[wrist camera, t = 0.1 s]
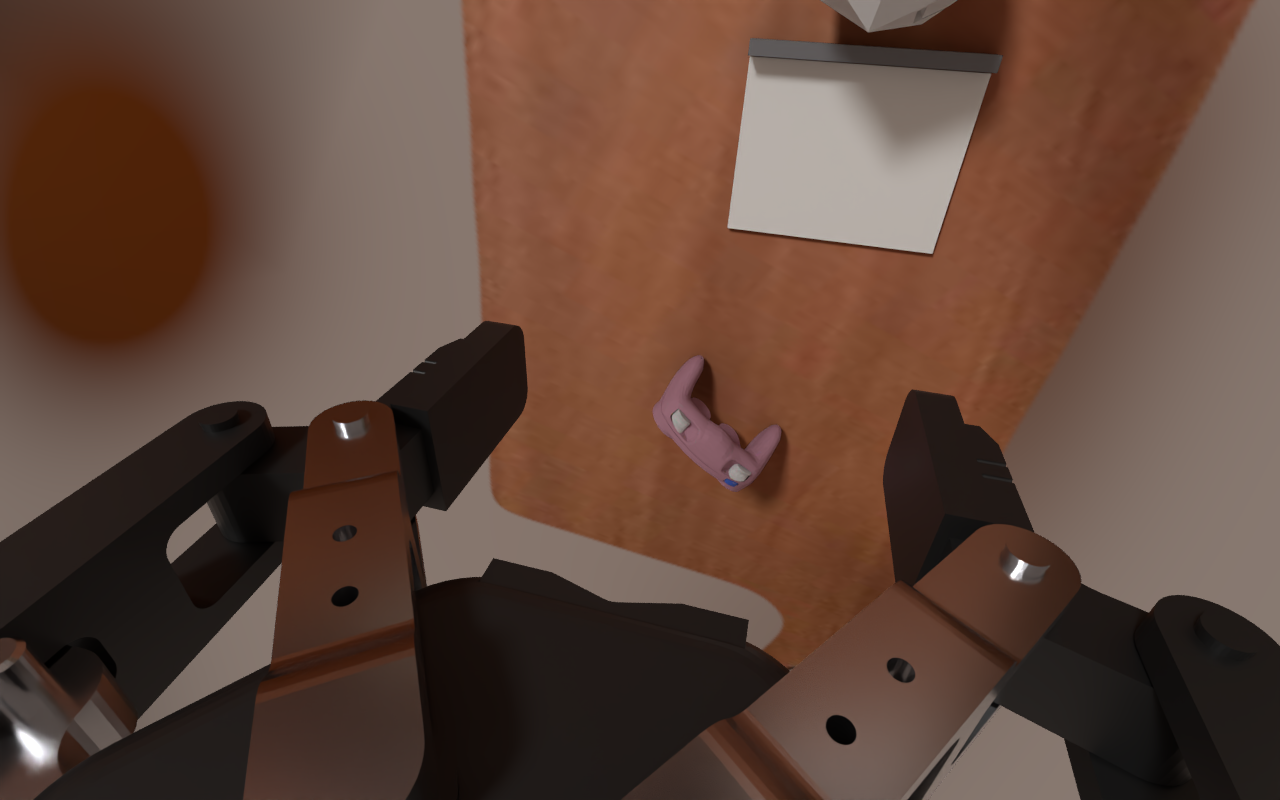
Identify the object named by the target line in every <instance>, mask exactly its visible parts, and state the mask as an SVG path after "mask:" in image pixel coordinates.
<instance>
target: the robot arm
mask: <svg viewBox="0 0 1280 800" xmlns="http://www.w3.org/2000/svg"><path fill="white" fill-rule="evenodd" d="M527 391H528V387H527V373H526V359H525V346H524V335H523V331H522V329H521V328H520V327H519V326H516V325H510V324H504V323H498V322H491V321H484V322H483V323H481V324H480V325H479V326H478V327H477V328H476V329H475V330H474V331H472V332H471V333H470V334H469V335H468V336H467V337H466V338H464V339H458V340H456V341H454V342H451V343H449V344H447V345H444V346H442V347H440V348H438V349H437V350H436V351H435V352H433V353H432V354H431V355H430V356H429V357H428V358H426V359H425V362H422V363H421V364H419V365H418V366H417V367H416V368H415V369H414V370H413V372H410V373H409V374H407V375H406V376H405V377H404V378H403V379H402V380H400V381H399V382H398V383H397V384H396V385H395V386H394V387H392V388H391V389H390V390H389V391H387V392H386V393H385V394H384V395H383V396H381V397H380V398H379V399H378V400H377V401H366V400H363V401H351V402H346V403H343V404H339V405H336V406H333V407H331V408H329V409H327V410H325V411H323V412H322V413H320V414H319V415H317V416H316V417H315V418H314V419H313V420H312V421H311V423H310V425H309V426H296V427H295V426H294V427H272V426H271V424H270V421H269V418H268V416H267V413H266V410H265V409H264V407H262V406H261V405H259V404H256V403H253V402H246V401H236V402H227V403H221V404H217V405H213V406H210V407H207V408H204V409H202V410H199V411H197V412H195V413H193V414H191V415H189V416H188V417H186V418H185V419H183V420H182V421H180V422H179V423H177V424H176V425H174V426H173V427H171V428H170V429H168V430H167V431H165V432H164V433H162V434H161V435H159V436H158V437H156V438H155V439H153V440H152V441H150V442H149V443H147V444H146V445H144V446H143V447H141V448H140V449H139V450H137V451H135V452H134V453H132V454H131V455H129V456H128V457H126V458H125V459H123V460H122V461H121V462H119V463H118V464H116V465H115V466H113V467H111V468H110V469H109V470H107V471H106V472H104V473H103V474H101V475H100V476H98V477H97V478H95V479H94V480H92V481H91V482H89V483H88V484H86V485H85V486H83V487H82V488H80V489H79V490H77V491H76V492H74V493H73V494H71V495H70V496H68V497H67V498H65V499H64V500H62V501H61V502H59V503H58V504H56V505H55V506H53V507H52V508H51V509H49V510H47V511H46V512H44V513H43V514H41V515H40V516H38V517H37V518H36V519H34V520H33V521H31V522H29V523H28V524H27V525H25V526H23V527H22V528H20V529H19V530H18V531H16V532H15V533H13V534H12V535H10V536H9V537H7V538H6V539H4V540H3V541H1V542H0V800H929V798H930V797H931V796H932V794H933V793H934V791H935V790H936V789H937V787H938V786H939V784H940V783H941V782H942V781H943V779H944V778H945V777H946V775H947V774H948V773H949V772H950V770H951V769H952V768H953V767H954V765H955V764H956V763H957V762H958V760H959V759H960V758H961V756H962V755H963V754H964V753H965V751H966V750H967V749H968V748H969V746H970V745H971V744H972V743H973V741H974V740H975V739H976V738H977V736H978V735H979V734H980V733H981V731H982V730H983V729H984V728H985V726H986V725H987V724H988V723H989V721H990V720H991V719H992V717H993V716H994V715H995V714H996V712H997V711H998V710H999V709H1000V707H1001V706H1003V707H1005V708H1007V709H1009V710H1011V711H1013V712H1015V713H1016V714H1018V715H1020V716H1022V717H1024V718H1026V719H1028V720H1030V721H1032V722H1034V723H1036V724H1038V725H1039V726H1042V727H1043V728H1045V729H1047V730H1049V731H1051V732H1053V733H1055V734H1057V735H1059V736H1060V737H1062V738H1064V740H1065V744H1066V747H1067V751H1068V755H1069V758H1070V762H1071V766H1072V770H1073V773H1074V777H1075V780H1076V784H1077V788H1078V792H1079V795H1080V799H1081V800H1280V646H1279V645H1278V644H1277V643H1276V642H1275V641H1274V640H1273V639H1272V638H1271V637H1270V636H1268V635H1267V634H1266V633H1265V632H1264V631H1263V630H1261V629H1260V628H1259V627H1257V626H1256V625H1255V624H1253V623H1252V622H1250V621H1248V620H1247V619H1245V618H1244V617H1242V616H1240V615H1238V614H1237V613H1235V612H1233V611H1231V610H1229V609H1227V608H1225V607H1223V606H1220V605H1218V604H1215V603H1213V602H1210V601H1207V600H1203V599H1200V598H1197V597H1191V596H1185V595H1172V596H1167V597H1164V598H1162V599H1160V600H1159V601H1158V602H1157V603H1156V605H1155V606H1154V607H1153V608H1152V610H1151V611H1150V612H1149V613H1148V612H1146V611H1143V610H1141V609H1138V608H1136V607H1133V606H1131V605H1129V604H1126V603H1124V602H1121V601H1119V600H1117V599H1114V598H1112V597H1109V596H1107V595H1105V594H1102V593H1100V592H1098V591H1096V590H1093V589H1091V588H1089V587H1087V586H1085V585H1084V584H1082V583H1081V575H1080V573H1079V570H1078V568H1077V567H1076V565H1075V563H1074V562H1073V561H1072V560H1071V558H1070V557H1069V556H1068V555H1067V554H1066V553H1065V552H1064V551H1063V550H1062V549H1060V548H1059V547H1058V546H1057V545H1055V544H1054V543H1052V542H1051V541H1049V540H1048V539H1046V538H1044V537H1042V536H1040V535H1038V534H1036V533H1034V530H1033V528H1032V525H1031V523H1030V520H1029V518H1028V516H1027V513H1026V511H1025V508H1024V506H1023V503H1022V501H1021V499H1020V496H1019V494H1018V491H1017V489H1016V486H1015V484H1014V483H1012V476H1011V474H1010V472H1009V469H1008V468H1007V467H1006V462H1005V459H1004V457H1003V454H1002V452H1001V450H1000V447H999V445H998V444H997V443H996V442H995V441H994V440H993V439H992V438H991V437H990V436H989V435H988V434H987V433H986V432H985V431H984V430H983V429H982V428H981V427H980V426H974V425H968V424H964V421H963V418H962V415H961V412H960V410H959V407H958V404H957V401H956V399H955V397H954V396H950V395H944V394H938V393H931V392H925V391H919V390H911V391H910V392H909V394H908V395H907V398H906V400H905V403H904V406H903V409H902V412H901V415H900V418H899V421H898V424H897V427H896V430H895V433H894V436H893V438H892V441H891V444H890V447H889V450H888V453H887V457H886V461H885V466H884V474H883V487H884V495H885V503H886V510H887V518H888V526H889V534H890V542H891V550H892V558H893V566H894V574H895V582H896V583H894V584H893V585H892V586H890V587H889V588H888V589H887V590H886V591H884V592H883V593H882V594H881V595H880V596H879V597H877V598H876V599H875V600H874V601H873V602H872V603H870V604H869V605H868V606H867V607H866V608H864V609H863V610H862V611H861V612H860V613H859V614H857V615H856V616H855V617H854V618H853V619H851V620H850V621H849V622H848V623H847V624H846V625H844V626H843V627H842V628H841V629H840V630H838V631H837V632H836V633H835V634H834V635H833V636H831V637H830V638H829V639H828V640H827V641H825V642H824V643H823V644H822V645H821V646H820V647H818V648H817V649H816V650H815V651H814V652H813V653H811V654H810V655H809V656H808V657H807V658H805V659H804V660H803V661H802V662H801V663H800V664H798V665H797V666H796V667H795V668H794V669H792V670H791V671H789V670H788V669H787V668H786V667H785V666H783V665H782V664H781V663H780V662H778V661H777V660H776V659H775V658H773V657H772V656H770V655H769V654H767V653H766V652H764V651H763V650H761V649H759V648H758V647H756V646H754V645H752V644H750V643H748V642H746V637H747V629H748V621H749V620H746V619H742V618H738V617H734V616H730V615H726V614H722V613H718V612H714V611H709V610H705V609H701V608H697V607H692V606H689V605H685V604H667V603H623V602H622V603H621V602H619V603H618V602H611V601H607V600H605V599H603V598H601V597H599V596H597V595H595V594H593V593H591V592H589V591H587V590H585V589H583V588H581V587H580V586H578V585H576V584H574V583H572V582H570V581H568V580H566V579H564V578H562V577H560V576H558V575H556V574H554V573H552V572H548V571H544V570H539V569H535V568H531V567H527V566H523V565H519V564H515V563H510V562H507V561H503V560H498V559H494V558H493V560H492V561H491V563H490V565H489V566H488V568H487V570H486V571H485V573H484V574H483V576H482V577H472V578H471V577H470V578H460V579H454V580H449V581H444V582H440V583H437V584H433V585H430V586H427V584H426V576H425V569H424V562H423V555H422V548H421V541H420V534H419V528H418V522H417V518H416V514H417V512H418V511H419V510H420V509H421V507H422V506H426V507H430V508H434V509H439V510H443V511H447V509H448V508H449V507H450V505H451V504H452V503H453V502H454V500H455V499H456V498H457V496H458V495H459V494H460V493H461V491H462V490H463V489H464V487H465V486H466V485H467V484H468V482H469V481H470V480H471V478H472V477H473V476H474V474H475V473H476V472H477V470H478V469H479V468H480V467H481V465H482V464H483V463H484V461H485V460H486V459H487V458H488V456H489V455H490V454H491V453H492V451H493V450H494V449H495V447H496V446H497V445H498V443H499V442H500V441H501V440H502V438H503V437H504V436H505V434H506V433H507V432H508V431H509V429H510V428H511V427H512V425H513V424H514V423H515V422H516V420H517V419H518V418H519V416H520V415H521V413H522V411H523V409H524V407H525V403H526V399H527ZM206 502H207V504H208V506H209V508H210V510H211V512H212V514H213V516H214V518H215V520H216V524H215V525H214V526H213V527H212V528H211V529H209V530H208V531H207V532H206V533H205V534H204V535H203V536H202V537H201V538H199V539H198V540H197V541H196V542H195V543H194V544H193V545H192V546H190V547H189V548H188V549H187V550H186V551H185V552H184V553H183V554H182V555H180V556H179V557H178V558H177V559H176V560H175V561H174V562H173V563H171V564H170V562H169V561H168V558H167V554H166V548H167V543H168V540H169V538H170V536H171V535H172V533H173V532H174V530H175V529H176V528H177V527H178V526H179V525H180V524H182V523H183V522H184V521H185V520H186V519H188V518H189V517H190V516H191V515H192V514H193V513H195V512H196V511H197V510H198V509H199V508H201V507H202V506H203V505H204V504H205V503H206ZM281 563H282V564H281ZM280 564H281V574H280V583H279V593H278V601H277V611H276V620H275V630H274V639H273V649H272V657H271V664H269V665H267V666H265V667H263V668H261V669H259V670H257V671H255V672H254V673H251V674H249V675H248V676H245V677H243V678H241V679H239V680H237V681H235V682H234V683H232V684H230V685H228V686H226V687H224V688H222V689H220V690H218V691H216V692H214V693H212V694H210V695H208V696H206V697H204V698H202V699H200V700H198V701H196V702H194V703H192V704H190V705H188V706H186V707H184V708H182V709H180V710H178V711H176V712H174V713H172V714H170V715H168V716H166V717H164V718H162V719H160V720H158V721H156V722H154V723H152V724H150V725H148V726H146V727H144V728H142V729H140V730H139V731H137V732H135V733H134V731H135V728H136V725H137V720H138V719H139V718H140V717H141V716H142V714H143V713H144V712H145V711H146V710H147V709H148V708H149V707H150V706H151V705H152V704H153V702H154V701H155V700H156V699H157V698H158V697H159V696H160V695H161V694H162V693H163V692H164V690H165V689H166V688H167V687H168V686H169V685H170V684H171V683H172V682H173V681H174V679H175V678H176V677H177V676H178V675H179V674H180V673H181V672H182V671H183V670H184V668H186V666H187V665H188V664H189V663H190V662H191V661H192V660H193V659H194V658H195V657H196V655H198V653H199V652H200V651H201V650H202V649H203V648H204V647H205V646H206V645H207V643H209V641H210V640H211V639H212V638H213V637H214V636H215V635H216V634H217V633H218V631H220V629H221V628H222V627H223V626H224V625H225V624H226V623H227V622H228V621H229V619H231V617H232V616H233V615H234V614H235V613H236V612H237V611H238V610H239V609H240V608H241V607H242V605H243V604H244V603H245V602H246V601H247V600H248V599H249V598H250V597H251V596H252V595H253V593H254V592H255V591H256V590H257V589H258V588H259V587H260V586H261V585H262V584H263V583H264V581H265V580H266V579H267V578H268V577H269V576H270V575H271V574H272V573H273V572H274V570H275V569H276V568H277V567H278V566H279V565H280Z"/></svg>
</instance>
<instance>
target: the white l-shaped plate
mask: <svg viewBox="0 0 1280 800" xmlns="http://www.w3.org/2000/svg"><path fill="white" fill-rule="evenodd" d="M748 55H750V60H749V68H748V76H747V83H746V91H745V98H744V106H743V114H742V121H741V129H740V137H739V144H738V152H737V159H736V167H735V175H734V182H733V190H732V198H731V205H730V213H729V221H728V228H732V229H740V230H748V231H755V232H763V233H771V234H779V235H787V236H795V237H803V238H811V239H819V240H827V241H835V242H843V243H850V244H858V245H866V246H874V247H882V248H890V249H898V250H906V251H914V252H922V253H930V254H932V253H933V250H934V247H935V244H936V241H937V238H938V235H939V232H940V229H941V226H942V223H943V220H944V217H945V214H946V210H947V207H948V204H949V201H950V198H951V195H952V192H953V189H954V186H955V183H956V180H957V177H958V174H959V171H960V168H961V165H962V162H963V159H964V156H965V152H966V149H967V146H968V143H969V140H970V137H971V134H972V131H973V128H974V125H975V122H976V119H977V116H978V113H979V110H980V107H981V104H982V101H983V97H984V94H985V91H986V88H987V85H988V82H989V79H990V76H991V74H990V73H997V72H998V69H999V66H1000V63H1001V60H1002V57H1003V55H998V54H985V53H969V52H954V51H939V50H924V49H909V48H894V47H878V46H863V45H848V44H833V43H818V42H803V41H788V40H772V39H757V38H752V39H750V44H749V52H748ZM754 56H764V57H754ZM768 57H778V58H768ZM782 58H792V59H782ZM796 59H806V60H796ZM810 60H820V61H810ZM824 61H834V62H824ZM838 62H848V63H838ZM852 63H862V64H852ZM866 64H876V65H866ZM880 65H890V66H880ZM894 66H904V67H894ZM908 67H918V68H908ZM922 68H932V69H922ZM936 69H946V70H936ZM950 70H960V71H950ZM964 71H974V72H964ZM978 72H988V73H978Z"/></svg>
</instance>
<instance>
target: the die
mask: <svg viewBox="0 0 1280 800" xmlns="http://www.w3.org/2000/svg"><path fill="white" fill-rule="evenodd" d="M820 1H822V2H823V3H825V4H826V5H828V6H829V7H831V8H832V9H834V10H835V11H837V12H838V13H840V14H841V15H843V16H844V17H846V18H847V19H849V20H850V21H852V22H853V23H855V24H856V25H858V26H859V27H861V28H862V29H864V30H865V31H867V32H875V31H881V30H888V29H895V28H901V27H908V26H914V25H921V24H923V23H925V22H926V21H928V20H929V19H930V18H932V17H933V16H935V15H936V14H938V13H939V12H941V11H942V10H944V9H945V8H946V7H948V6H950V5H951V4H953V3H954V2H956V1H957V0H820Z"/></svg>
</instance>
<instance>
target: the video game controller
mask: <svg viewBox="0 0 1280 800" xmlns="http://www.w3.org/2000/svg"><path fill="white" fill-rule="evenodd" d="M703 367H704V358H703V357H702V356H700V355H697V356H694V357H692V358H690V359H689V360H688V361H687V362H686V363H685V364H684V365H683V366H682V367H681V368H680V369H679V370H678V372H677V373H676V374H675V376H674V377H673V379H672V380H671V382H670V383H669V385H668V387H667V389H666V390H665V392H664V394H663V396H662V398H661V399H660V401H659V402H657V403H656V404H655V406H654V408H653V417H654V419H655V422H656V423H657V425H658V427H659V428H660V430H661V431H662V432H663V433H664V434H665V435H667V436H668V437H670V438H671V439H673V440H674V441H675V442H676V444H677V445H678V446H679V447H680V448H681V449H682V450H683V452H684V453H685V454H686V455H688V456H689V457H690V458H691V459H692V460H693V461H694V462H695V463H696V464H697V465H699V466H700V467H701V468H702V469H704V470H705V471H706V472H708V473H709V474H710V475H712V476H713V477H715V478H717V479H718V480H719V482H720V483H721V484H722V485H723V486H724V487H725V488H727V489H729V490H731V491H735V492H737V491H740V490H741V489H743V488H745V487H746V486H748V485H750V484H751V483H752V482H753V481H754V480H755V479H756V478H757V476H758V475H759V474H760V473H761V471H762V470H763V468H764V467H765V465H766V464H767V462H768V460H769V459H770V457H771V455H772V454H773V452H774V450H775V449H776V447H777V445H778V443H779V441H780V438H781V428H780V426H778V425H771V426H769V427H768V428H766V429H764V430H763V431H762V432H760V433H759V434H758V435H757V436H756V437H755V438H754V439H753V440H752V441H751V442H750V443H749V445H748V446H747V447H746V448H745V450H744V449H742V448H741V446H740V442H739V438H738V435H737V433H736V432H735V431H734V429H733V428H731V427H730V426H729V425H727V424H723V423H722V424H720V425H719V426H718V425H717V424H715V423H713V422H712V421H710V417H711V415H710V411H709V410H708V408H707V406H706V405H705V404H704V403H703V402H702V401H701V400H700V399H698V398H691V393H692V391H693V388H694V385H695V384H696V382H697V380H698V378H699V376H700V374H701V373H702V371H703Z"/></svg>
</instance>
